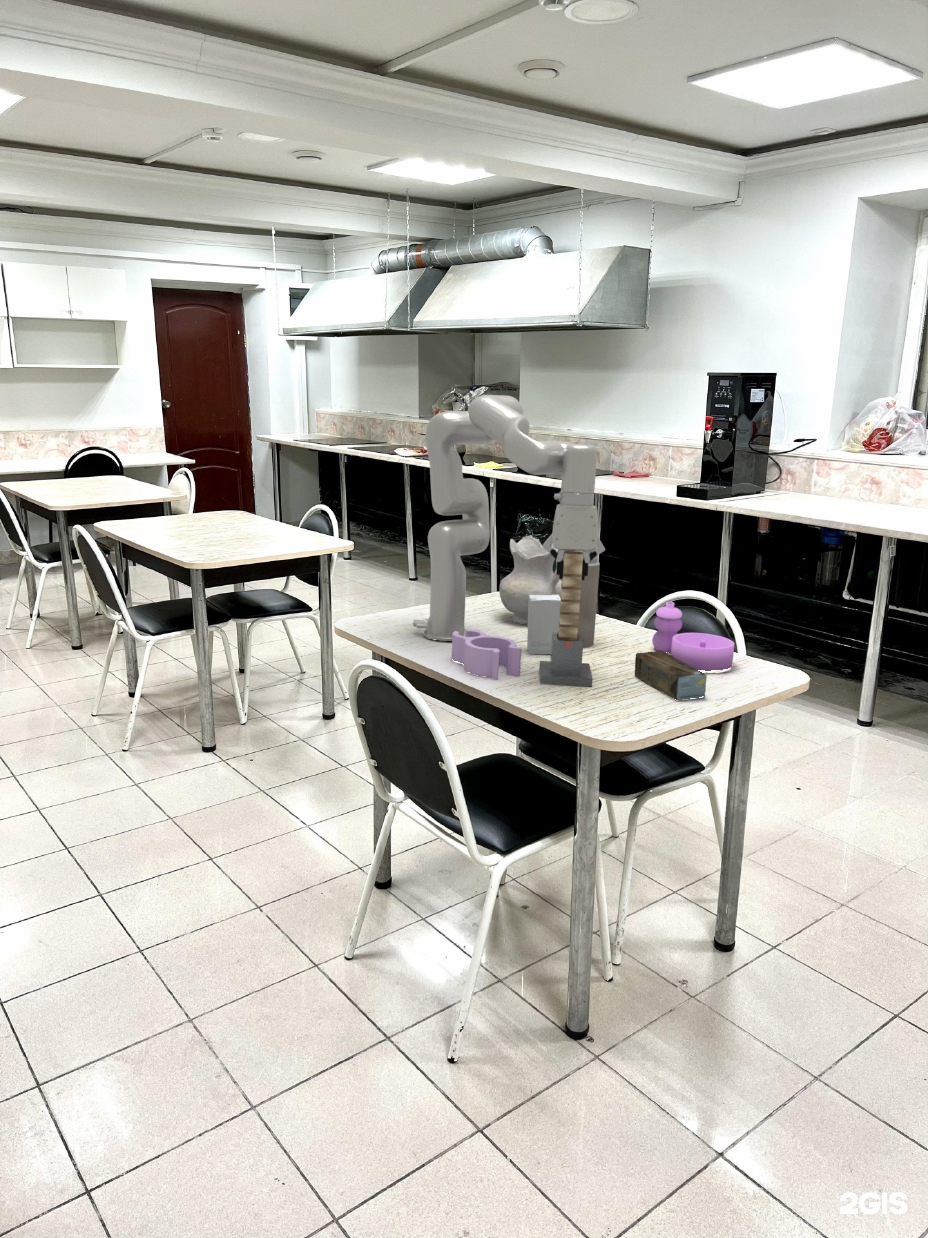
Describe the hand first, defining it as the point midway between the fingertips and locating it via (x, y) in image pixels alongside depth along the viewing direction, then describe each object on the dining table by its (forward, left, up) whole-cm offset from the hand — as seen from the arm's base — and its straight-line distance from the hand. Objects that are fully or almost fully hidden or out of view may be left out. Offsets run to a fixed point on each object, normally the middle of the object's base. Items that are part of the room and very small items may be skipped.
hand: (571, 577), depth 211 cm
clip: (-20, +5, -25) cm, 32 cm away
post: (0, 0, -18) cm, 18 cm away
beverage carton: (+24, -3, -25) cm, 35 cm away
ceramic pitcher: (-7, +53, -25) cm, 59 cm away
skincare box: (-5, +21, -25) cm, 33 cm away
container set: (+33, +22, -25) cm, 46 cm away
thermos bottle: (+5, +31, -24) cm, 40 cm away
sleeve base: (0, 0, -24) cm, 24 cm away
